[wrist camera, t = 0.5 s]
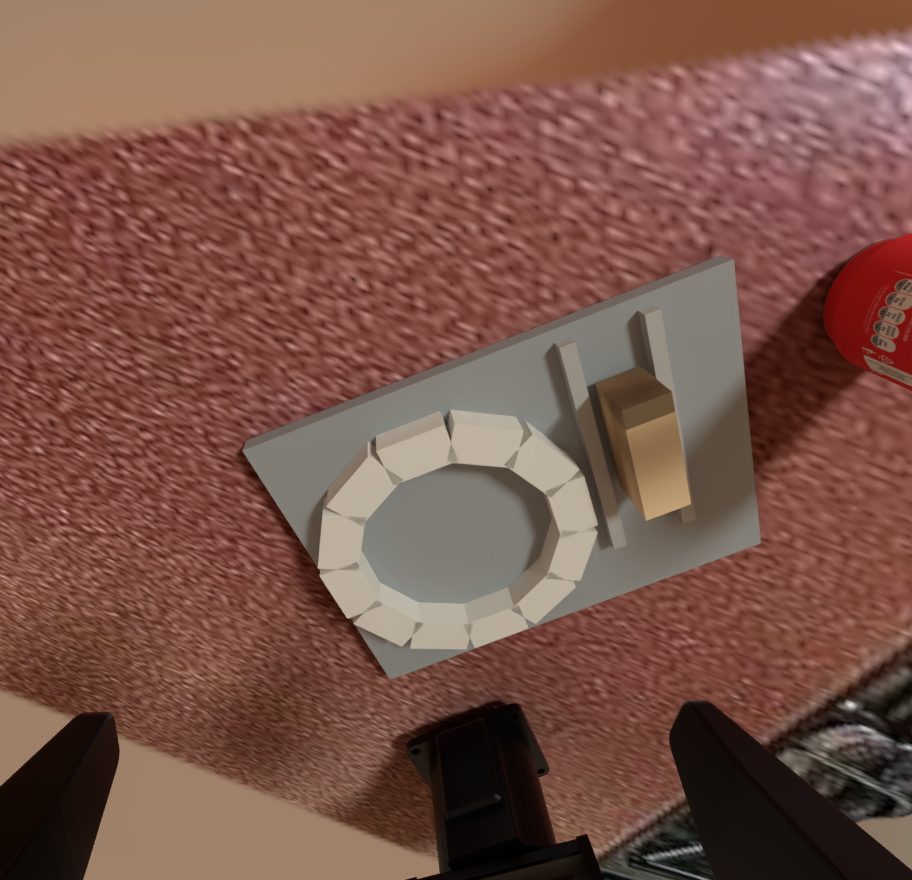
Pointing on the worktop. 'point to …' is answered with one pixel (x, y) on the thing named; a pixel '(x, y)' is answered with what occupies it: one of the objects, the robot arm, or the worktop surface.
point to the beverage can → (874, 310)
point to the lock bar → (644, 441)
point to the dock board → (519, 475)
